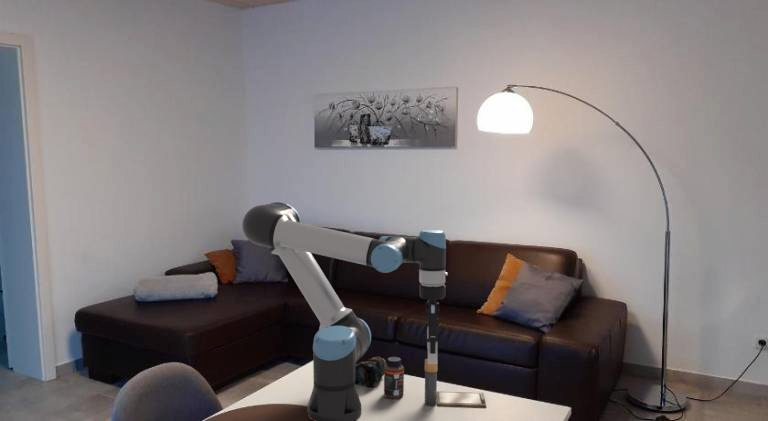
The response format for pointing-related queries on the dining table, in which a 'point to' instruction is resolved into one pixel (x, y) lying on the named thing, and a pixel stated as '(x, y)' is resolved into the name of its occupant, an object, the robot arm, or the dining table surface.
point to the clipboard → (461, 399)
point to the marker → (430, 383)
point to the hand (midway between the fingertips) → (432, 355)
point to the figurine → (369, 371)
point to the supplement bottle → (394, 378)
